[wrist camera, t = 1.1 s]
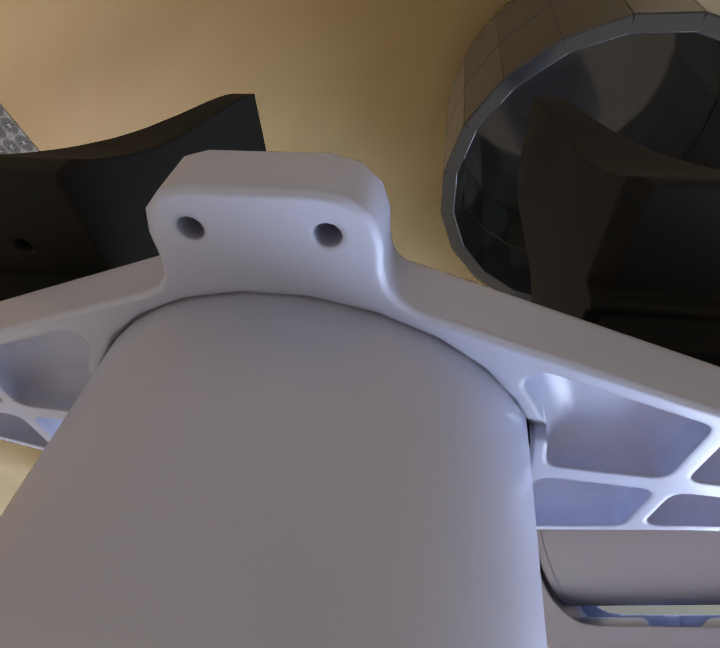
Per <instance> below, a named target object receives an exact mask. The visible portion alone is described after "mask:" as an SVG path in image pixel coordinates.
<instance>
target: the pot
mask: <svg viewBox="0 0 720 648" xmlns="http://www.w3.org/2000/svg"><path fill="white" fill-rule="evenodd" d="M533 96H551V97H562V98H564V99H566V100H567V101H569V102H570V103H572V104H573V105H575V106H576V107H578V108H579V109H581V110H582V111H583V112H585V113H586V114H588V115H589V116H591V117H592V118H594V119H595V120H596V121H598V122H599V123H601V124H603V125H604V126H606V127H607V128H609V129H611V130H612V131H614V132H616V133H618V134H619V135H621V136H623V137H625V138H627V139H629V140H631V141H633V142H635V143H637V144H639V145H641V146H644V147H646V148H649V149H651V150H653V151H656V152H658V153H661V154H664V155H667V156H670V157H673V158H676V159H680V160H683V161H686V162H690V163H693V164H697V165H701V166H705V167H710V168H714V169H720V0H511V1H510V2H509V3H508V4H507V5H505V6H504V7H503V8H502V9H501V10H500V11H499V12H498V13H497V14H496V15H495V16H494V17H493V18H492V19H491V20H490V22H489V23H488V24H487V25H486V26H485V27H484V28H483V30H482V31H481V32H480V34H479V35H478V37H477V38H476V39H475V41H474V42H473V44H472V45H471V47H470V49H469V50H468V52H467V54H466V56H465V58H464V59H463V61H462V63H461V66H460V68H459V70H458V73H457V75H456V78H455V80H454V84H453V88H452V92H451V94H450V97H449V101H448V115H447V129H446V143H445V157H444V170H443V185H442V200H441V216H442V219H443V222H444V225H445V229H446V232H447V235H448V238H449V241H450V244H451V248H452V249H453V251H454V252H455V253H456V254H457V256H458V257H459V258H460V259H461V261H462V262H463V263H464V264H465V266H466V267H467V268H468V269H469V271H470V272H471V273H472V274H473V276H474V277H476V278H477V279H478V280H480V281H482V282H483V283H485V284H486V285H488V286H489V287H491V288H493V289H494V290H497V291H500V292H503V293H506V294H509V295H512V296H515V297H518V298H521V299H524V300H526V301H529V302H532V293H531V274H530V266H529V259H528V254H527V248H526V243H525V238H524V232H523V227H522V222H521V216H520V211H519V205H518V167H519V162H520V158H521V153H522V148H523V143H524V138H525V133H526V128H527V123H528V119H529V114H530V109H531V104H532V99H533Z"/></svg>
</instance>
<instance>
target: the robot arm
mask: <svg viewBox="0 0 720 648" xmlns="http://www.w3.org/2000/svg"><path fill="white" fill-rule="evenodd" d="M518 205H519V211H520V216H521V222H522V227H523V232H524V238H525V243H526V248H527V254H528V259H529V266H530V274H531V293H532V302H529V301H526V300H524V299H521V298H518V297H515V296H512V295H509V294H506V293H503V292H500V291H497V290H494V289H491V288H489V287H486V286H483V285H480V284H477V283H474V282H471V281H468V280H465V279H462V278H459V277H457V276H454V275H451V274H448V273H445V272H442V271H439V270H436V269H433V268H430V267H427V266H424V265H422V264H419V263H416V262H413V261H410V260H407V259H405V258H404V257H403V256H402V255H401V254H399V253H398V252H397V251H396V249H395V247H394V245H393V243H392V237H391V209H390V203H389V200H388V197H387V194H386V191H385V188H384V184H383V181H382V180H380V179H379V178H378V177H377V176H376V175H375V174H374V173H373V172H372V171H371V170H370V169H368V168H367V167H366V166H365V165H364V164H363V163H362V162H361V161H358V160H354V159H351V158H347V157H343V156H340V155H336V154H332V153H309V152H272V151H266V148H265V143H264V138H263V133H262V129H261V124H260V119H259V114H258V109H257V105H256V100H255V95H254V94H228V95H224V96H221V97H218V98H216V99H213V100H211V101H208V102H206V103H204V104H201V105H199V106H197V107H195V108H192V109H190V110H188V111H186V112H183V113H181V114H179V115H177V116H174V117H172V118H169V119H167V120H164V121H162V122H160V123H157V124H155V125H152V126H150V127H147V128H144V129H142V130H139V131H136V132H133V133H129V134H126V135H123V136H119V137H116V138H112V139H108V140H103V141H99V142H94V143H89V144H85V145H80V146H75V147H69V148H62V149H55V150H47V151H38V152H28V153H13V154H0V439H1V440H5V441H9V442H13V443H17V444H21V445H25V446H29V447H32V448H36V449H40V450H43V452H42V453H41V455H40V456H39V458H38V459H37V461H36V462H35V464H34V466H33V467H32V469H31V470H30V472H29V473H28V475H27V476H26V478H25V479H24V481H23V482H22V484H21V485H20V487H19V489H18V490H17V492H16V493H15V495H14V496H13V498H12V499H11V501H10V502H9V504H8V505H7V507H6V508H5V510H4V511H3V513H2V515H1V516H0V648H547V645H548V646H549V648H720V615H621V614H615V613H609V612H607V611H605V610H602V609H601V608H600V607H598V606H601V605H602V606H606V605H607V606H608V605H609V606H611V605H720V169H714V168H710V167H705V166H701V165H697V164H693V163H690V162H686V161H683V160H680V159H676V158H673V157H670V156H667V155H664V154H661V153H658V152H656V151H653V150H651V149H649V148H646V147H644V146H641V145H639V144H637V143H635V142H633V141H631V140H629V139H627V138H625V137H623V136H621V135H619V134H618V133H616V132H614V131H612V130H611V129H609V128H607V127H606V126H604V125H603V124H601V123H599V122H598V121H596V120H595V119H594V118H592V117H591V116H589V115H588V114H586V113H585V112H583V111H582V110H581V109H579V108H578V107H576V106H575V105H573V104H572V103H570V102H569V101H567V100H566V99H564V98H562V97H551V96H533V99H532V104H531V109H530V114H529V119H528V123H527V128H526V133H525V138H524V143H523V148H522V153H521V158H520V162H519V167H518Z"/></svg>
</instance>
